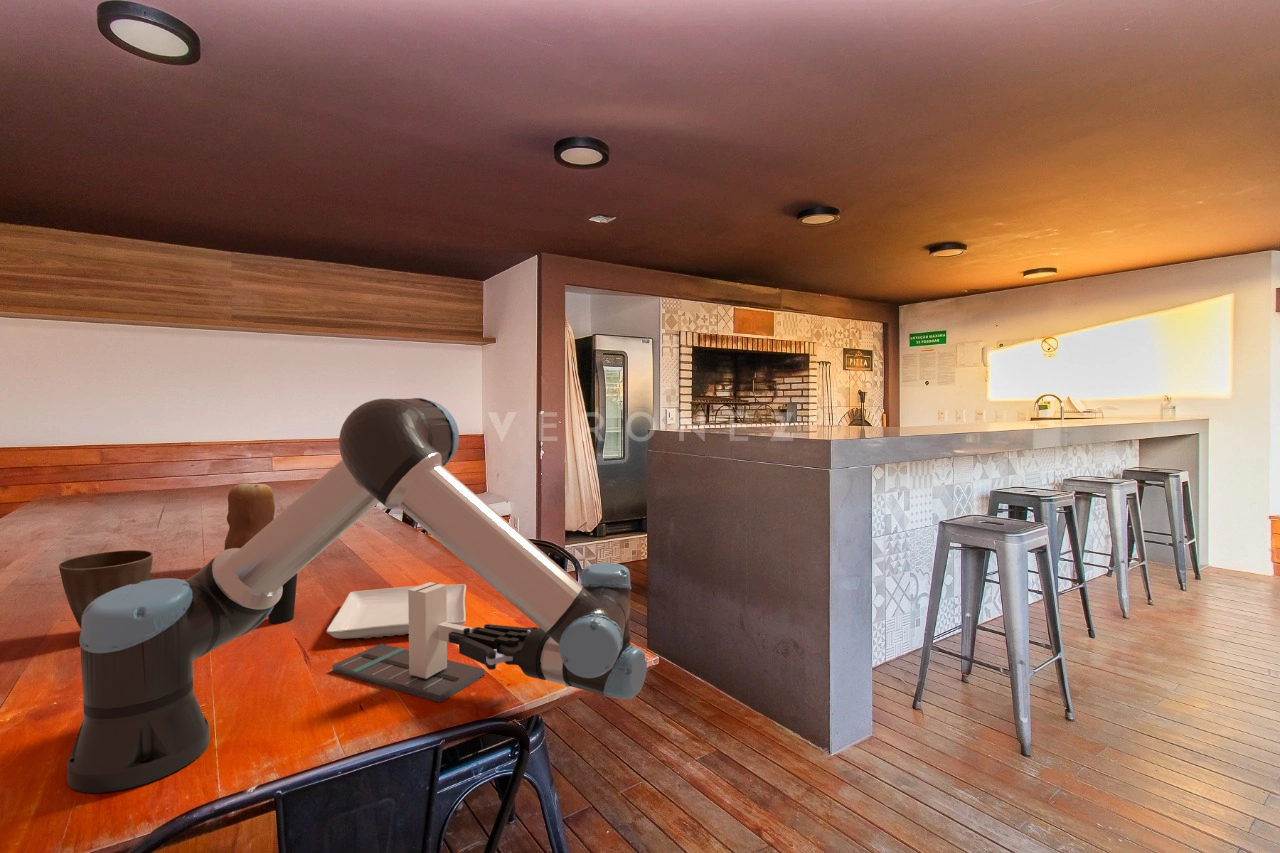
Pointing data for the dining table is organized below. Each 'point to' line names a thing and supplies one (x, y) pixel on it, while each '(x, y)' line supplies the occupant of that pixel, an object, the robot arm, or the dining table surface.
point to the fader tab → (427, 629)
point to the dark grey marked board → (407, 673)
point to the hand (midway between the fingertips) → (441, 630)
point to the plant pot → (102, 575)
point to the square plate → (387, 612)
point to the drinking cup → (285, 603)
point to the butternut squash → (248, 512)
